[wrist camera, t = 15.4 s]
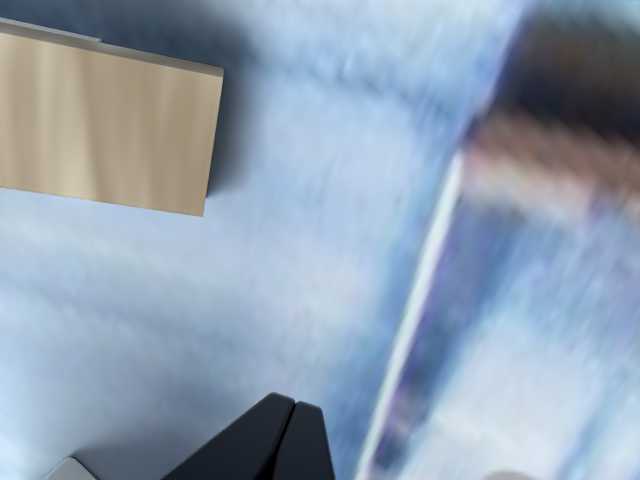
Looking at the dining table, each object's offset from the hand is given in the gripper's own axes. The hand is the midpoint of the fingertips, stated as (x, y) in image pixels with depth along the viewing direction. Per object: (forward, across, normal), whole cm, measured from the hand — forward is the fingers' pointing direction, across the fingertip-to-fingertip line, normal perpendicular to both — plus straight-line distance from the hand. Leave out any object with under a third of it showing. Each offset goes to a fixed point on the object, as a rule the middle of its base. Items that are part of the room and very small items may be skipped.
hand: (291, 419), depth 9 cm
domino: (+11, +6, 0) cm, 13 cm away
